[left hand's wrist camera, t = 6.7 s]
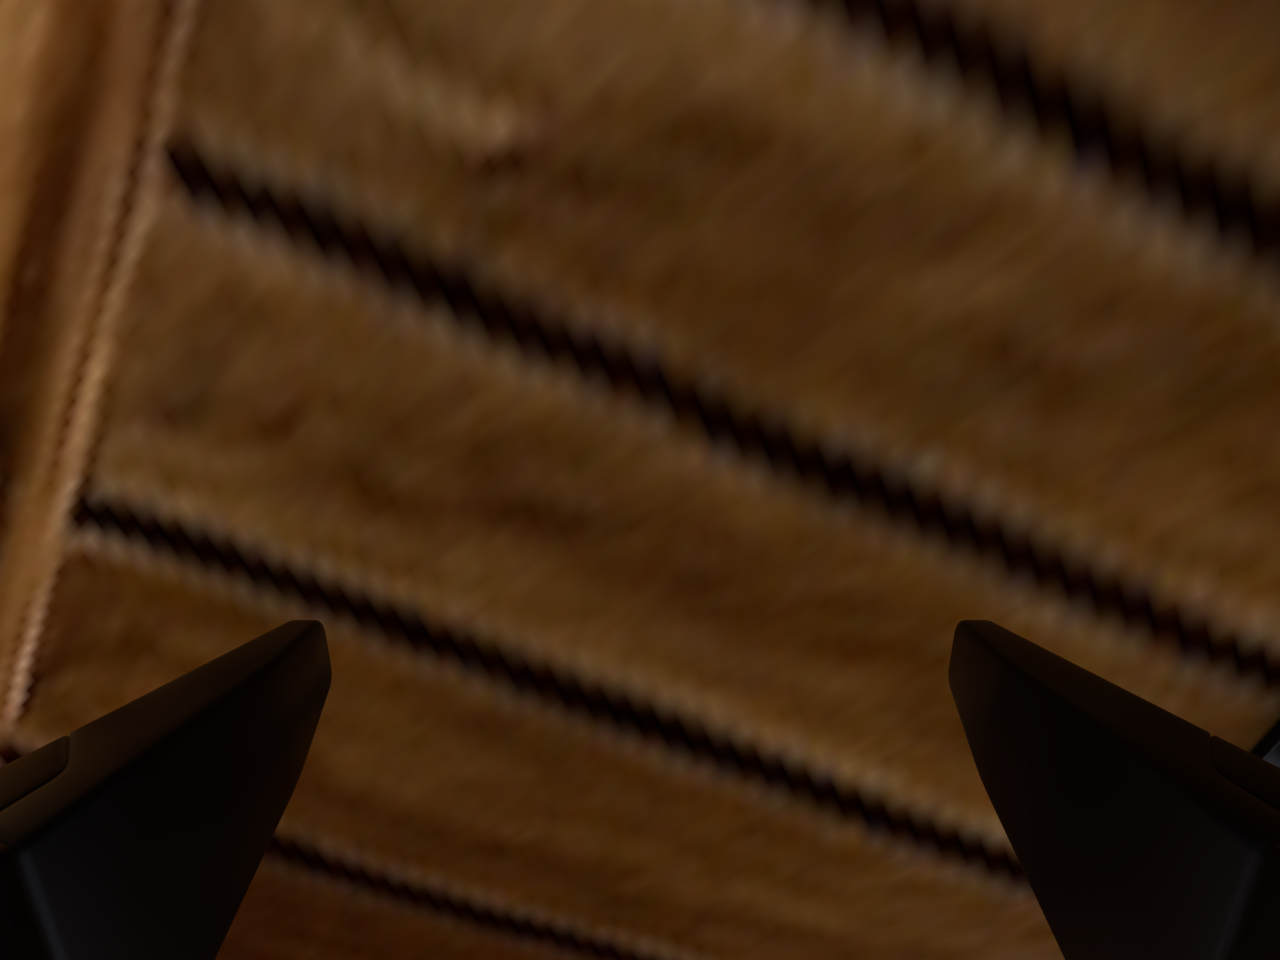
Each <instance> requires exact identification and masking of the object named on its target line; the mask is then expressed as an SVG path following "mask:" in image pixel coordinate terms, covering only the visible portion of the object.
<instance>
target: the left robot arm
mask: <svg viewBox="0 0 1280 960" xmlns="http://www.w3.org/2000/svg"><path fill="white" fill-rule="evenodd" d="M331 676H332V674H331V664H330V658H329V652H328V646H327V640H326V634H325V629H324V627H323V625H322V623H321V622H319V621H317V620H293V621H289V622H287V623H285V624H283V625H281V626H279V627H277V628H275V629H273V630H271V631H269V632H267V633H265V634H263V635H261V636H260V637H258V638H256V639H254V640H252V641H250V642H248V643H246V644H244V645H242V646H240V647H238V648H236V649H234V650H232V651H230V652H228V653H226V654H224V655H222V656H220V657H218V658H216V659H214V660H212V661H210V662H208V663H206V664H204V665H203V666H201V667H199V668H197V669H195V670H193V671H191V672H189V673H187V674H185V675H183V676H181V677H179V678H177V679H175V680H173V681H171V682H169V683H167V684H165V685H163V686H161V687H159V688H157V689H155V690H153V691H151V692H149V693H148V694H146V695H144V696H142V697H140V698H138V699H136V700H134V701H132V702H130V703H128V704H126V705H124V706H122V707H120V708H118V709H116V710H114V711H112V712H110V713H108V714H106V715H104V716H102V717H100V718H98V719H96V720H94V721H92V722H91V723H89V724H87V725H85V726H83V727H81V728H79V729H77V730H75V731H73V732H71V733H70V735H69V737H68V736H63V737H61V738H59V739H57V740H55V741H53V742H51V743H49V744H47V745H45V746H43V747H41V748H39V749H37V750H35V751H33V752H31V753H29V754H27V755H25V756H23V757H21V758H19V759H17V760H15V761H13V762H11V763H9V764H7V765H5V766H3V767H1V768H0V960H215V958H216V956H217V954H218V952H219V949H220V947H221V945H222V943H223V941H224V939H225V937H226V934H227V932H228V930H229V928H230V926H231V924H232V922H233V920H234V917H235V915H236V913H237V911H238V909H239V907H240V905H241V902H242V900H243V898H244V896H245V894H246V892H247V890H248V888H249V885H250V883H251V881H252V879H253V877H254V875H255V873H256V870H257V868H258V866H259V864H260V862H261V860H262V858H263V856H264V853H265V851H266V849H267V847H268V845H269V843H270V841H271V838H272V836H273V834H274V832H275V830H276V828H277V826H278V824H279V821H280V819H281V817H282V815H283V813H284V811H285V809H286V806H287V804H288V802H289V800H290V798H291V796H292V794H293V791H294V789H295V787H296V784H297V782H298V780H299V777H300V775H301V772H302V769H303V767H304V764H305V761H306V758H307V755H308V752H309V749H310V746H311V743H312V740H313V737H314V734H315V731H316V728H317V725H318V722H319V719H320V716H321V713H322V710H323V706H324V703H325V700H326V697H327V694H328V691H329V688H330V684H331ZM948 676H949V684H950V688H951V691H952V694H953V697H954V700H955V703H956V707H957V710H958V713H959V716H960V719H961V722H962V725H963V728H964V731H965V734H966V737H967V740H968V743H969V746H970V749H971V752H972V755H973V758H974V761H975V764H976V767H977V769H978V772H979V775H980V777H981V780H982V782H983V784H984V787H985V789H986V791H987V794H988V796H989V798H990V800H991V802H992V804H993V806H994V809H995V811H996V813H997V815H998V817H999V819H1000V821H1001V824H1002V826H1003V828H1004V830H1005V832H1006V834H1007V836H1008V838H1009V841H1010V843H1011V845H1012V847H1013V849H1014V851H1015V853H1016V856H1017V858H1018V860H1019V862H1020V864H1021V866H1022V868H1023V870H1024V873H1025V875H1026V877H1027V879H1028V881H1029V883H1030V885H1031V888H1032V890H1033V892H1034V894H1035V896H1036V898H1037V900H1038V902H1039V905H1040V907H1041V909H1042V911H1043V913H1044V915H1045V917H1046V920H1047V922H1048V924H1049V926H1050V928H1051V930H1052V932H1053V934H1054V937H1055V939H1056V941H1057V943H1058V945H1059V947H1060V949H1061V952H1062V954H1063V956H1064V958H1065V960H1280V721H1279V722H1278V723H1277V724H1276V725H1275V727H1274V728H1273V729H1272V730H1271V731H1270V732H1269V733H1268V734H1267V735H1266V736H1265V738H1264V739H1263V740H1262V741H1261V742H1260V743H1259V744H1258V745H1257V746H1256V747H1255V748H1254V750H1253V751H1252V752H1251V753H1249V752H1247V751H1245V750H1243V749H1241V748H1239V747H1237V746H1235V745H1233V744H1231V743H1229V742H1227V741H1225V740H1223V739H1221V738H1219V737H1217V736H1212V737H1211V736H1210V733H1209V732H1207V731H1205V730H1203V729H1201V728H1199V727H1197V726H1195V725H1193V724H1191V723H1190V722H1188V721H1186V720H1184V719H1182V718H1180V717H1178V716H1176V715H1174V714H1172V713H1170V712H1168V711H1166V710H1164V709H1162V708H1160V707H1158V706H1156V705H1154V704H1152V703H1150V702H1148V701H1146V700H1144V699H1142V698H1140V697H1138V696H1136V695H1134V694H1132V693H1131V692H1129V691H1127V690H1125V689H1123V688H1121V687H1119V686H1117V685H1115V684H1113V683H1111V682H1109V681H1107V680H1105V679H1103V678H1101V677H1099V676H1097V675H1095V674H1093V673H1091V672H1089V671H1087V670H1085V669H1083V668H1081V667H1079V666H1077V665H1076V664H1074V663H1072V662H1070V661H1068V660H1066V659H1064V658H1062V657H1060V656H1058V655H1056V654H1054V653H1052V652H1050V651H1048V650H1046V649H1044V648H1042V647H1040V646H1038V645H1036V644H1034V643H1032V642H1030V641H1028V640H1026V639H1024V638H1022V637H1020V636H1019V635H1017V634H1015V633H1013V632H1011V631H1009V630H1007V629H1005V628H1003V627H1001V626H999V625H997V624H995V623H993V622H991V621H987V620H963V621H961V622H959V623H958V625H957V627H956V629H955V634H954V640H953V646H952V652H951V658H950V664H949V674H948Z"/></svg>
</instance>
